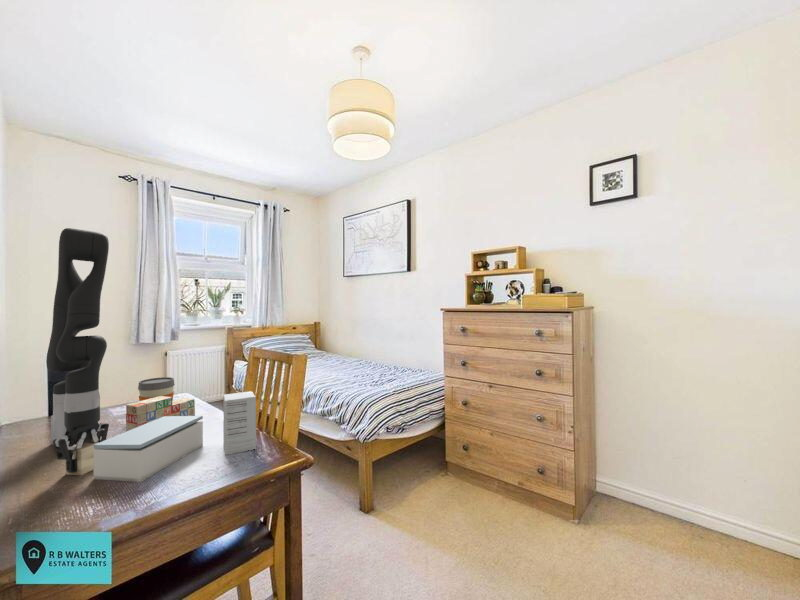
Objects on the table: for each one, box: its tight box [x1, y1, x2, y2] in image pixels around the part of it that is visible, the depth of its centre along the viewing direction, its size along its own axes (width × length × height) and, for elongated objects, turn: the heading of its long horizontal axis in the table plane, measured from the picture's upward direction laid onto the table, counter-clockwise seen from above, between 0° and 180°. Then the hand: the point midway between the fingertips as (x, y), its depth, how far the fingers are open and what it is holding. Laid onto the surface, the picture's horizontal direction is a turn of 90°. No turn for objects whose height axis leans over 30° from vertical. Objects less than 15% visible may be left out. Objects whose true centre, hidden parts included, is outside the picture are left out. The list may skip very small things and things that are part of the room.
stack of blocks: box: [125, 396, 196, 432], centre depth 132 cm, size 21×6×12 cm, turn 157°
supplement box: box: [222, 391, 257, 456], centre depth 116 cm, size 10×9×17 cm
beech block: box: [65, 442, 99, 476], centre depth 100 cm, size 5×5×7 cm
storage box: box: [93, 420, 204, 483], centre depth 106 cm, size 14×24×8 cm, turn 173°
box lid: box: [93, 415, 203, 449], centre depth 106 cm, size 14×24×1 cm, turn 172°
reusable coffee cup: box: [137, 376, 175, 402], centre depth 148 cm, size 13×13×15 cm
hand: (82, 467), depth 100 cm, fingers closed on beech block, 5 cm apart
